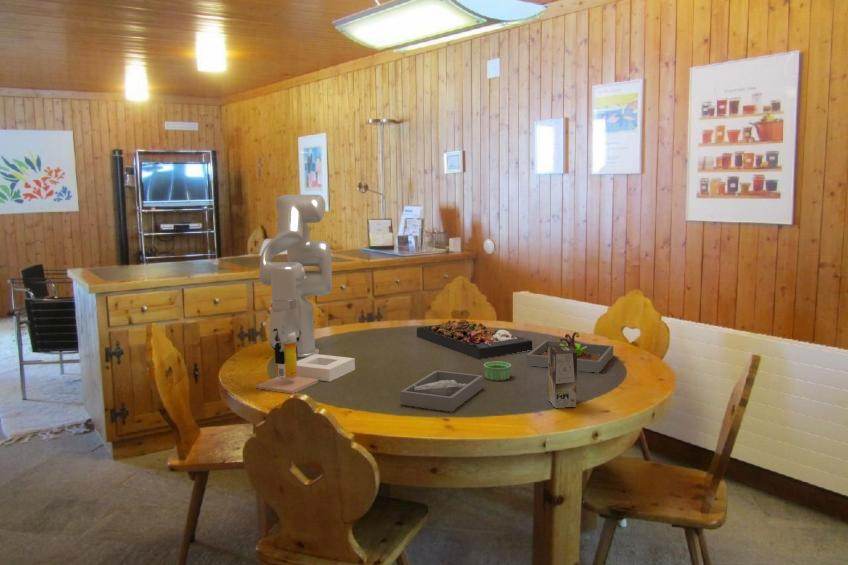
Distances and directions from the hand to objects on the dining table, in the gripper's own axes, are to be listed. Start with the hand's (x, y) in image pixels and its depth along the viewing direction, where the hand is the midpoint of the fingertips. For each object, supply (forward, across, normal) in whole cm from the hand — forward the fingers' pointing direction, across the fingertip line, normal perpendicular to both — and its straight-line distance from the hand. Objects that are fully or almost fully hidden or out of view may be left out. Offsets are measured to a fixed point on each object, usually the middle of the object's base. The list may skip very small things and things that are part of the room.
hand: (286, 360), depth 223 cm
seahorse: (+8, -9, +50) cm, 52 cm away
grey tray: (+8, -9, +50) cm, 52 cm away
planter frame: (+8, -65, +75) cm, 100 cm away
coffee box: (+8, -16, +84) cm, 86 cm away
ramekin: (+8, -35, +58) cm, 68 cm away
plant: (+9, -65, +76) cm, 100 cm away
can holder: (+8, -17, +2) cm, 19 cm away
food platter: (+9, -78, +32) cm, 85 cm away
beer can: (+6, 0, 0) cm, 6 cm away
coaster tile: (+8, 0, 0) cm, 8 cm away
